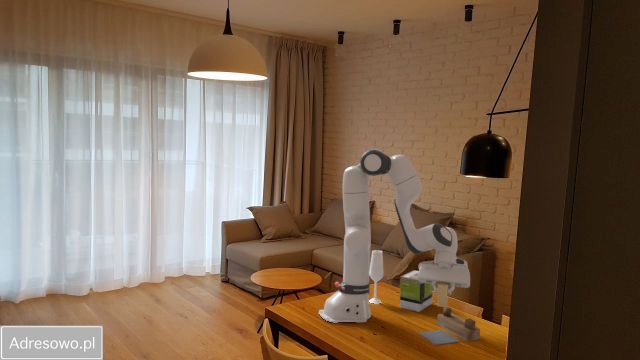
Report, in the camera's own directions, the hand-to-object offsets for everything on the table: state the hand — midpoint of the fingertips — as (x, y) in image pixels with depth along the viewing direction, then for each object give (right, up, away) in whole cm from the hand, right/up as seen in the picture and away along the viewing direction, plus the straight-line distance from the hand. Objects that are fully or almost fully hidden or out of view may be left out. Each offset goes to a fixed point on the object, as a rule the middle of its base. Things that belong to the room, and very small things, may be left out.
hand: (442, 293), depth 180 cm
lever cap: (0, -5, +1) cm, 5 cm away
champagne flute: (-22, -13, +36) cm, 44 cm away
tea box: (-4, -14, +32) cm, 35 cm away
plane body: (+7, -16, +3) cm, 17 cm away
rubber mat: (-3, -16, -4) cm, 17 cm away
